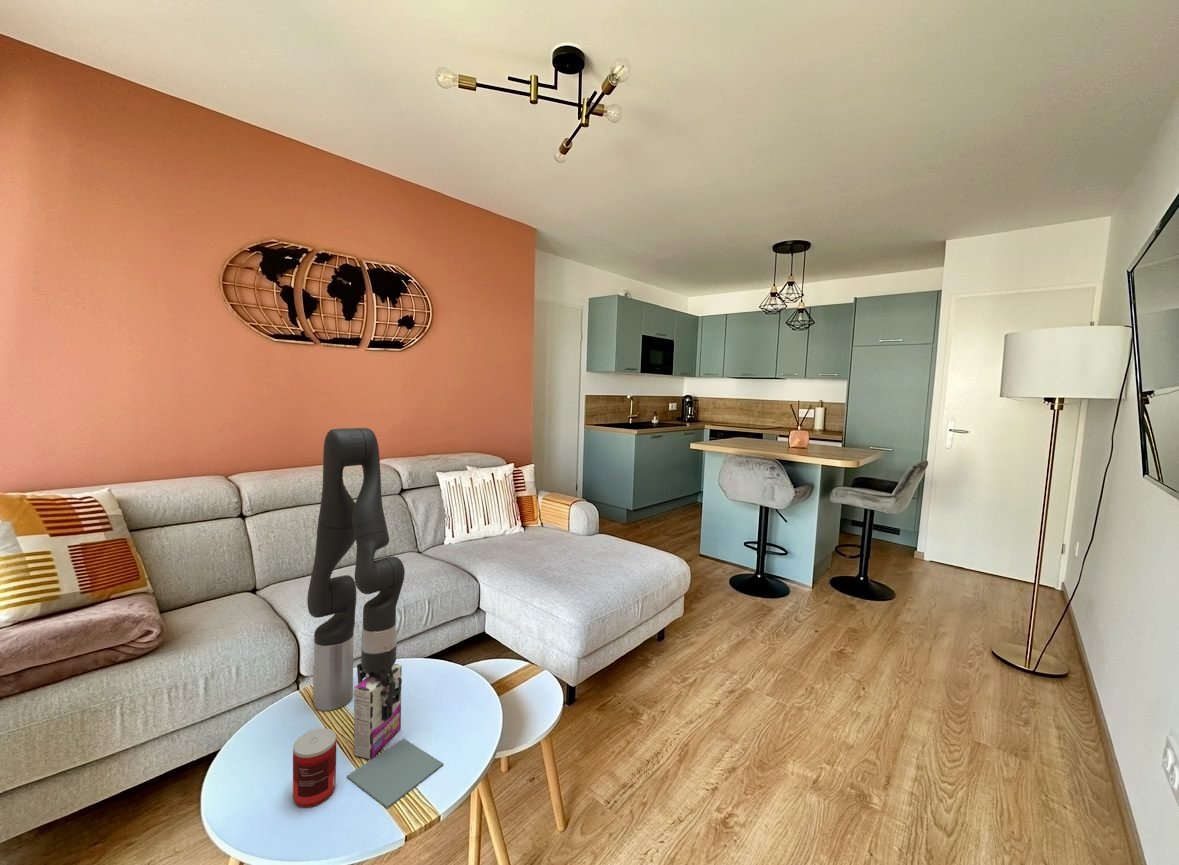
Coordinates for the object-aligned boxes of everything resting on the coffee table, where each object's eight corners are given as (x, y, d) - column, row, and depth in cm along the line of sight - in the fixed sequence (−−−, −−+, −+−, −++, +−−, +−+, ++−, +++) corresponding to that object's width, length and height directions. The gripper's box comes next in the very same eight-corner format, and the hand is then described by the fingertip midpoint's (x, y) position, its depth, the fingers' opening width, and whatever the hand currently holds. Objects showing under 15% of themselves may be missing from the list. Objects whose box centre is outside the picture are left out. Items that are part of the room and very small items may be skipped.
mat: (346, 777, 101) (346, 775, 101) (403, 740, 113) (403, 738, 113) (387, 808, 93) (387, 806, 93) (443, 765, 105) (443, 763, 105)
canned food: (322, 772, 102) (322, 723, 101) (344, 788, 98) (344, 737, 97) (284, 796, 95) (284, 744, 95) (306, 815, 91) (306, 760, 91)
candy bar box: (383, 724, 118) (385, 660, 117) (401, 728, 116) (403, 664, 116) (351, 756, 107) (353, 686, 106) (370, 761, 106) (372, 690, 105)
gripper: (346, 641, 111) (345, 710, 112) (383, 660, 103) (382, 734, 104) (375, 629, 117) (374, 695, 118) (412, 646, 110) (411, 716, 110)
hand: (378, 713), depth 111 cm, fingers closed on candy bar box, 6 cm apart
